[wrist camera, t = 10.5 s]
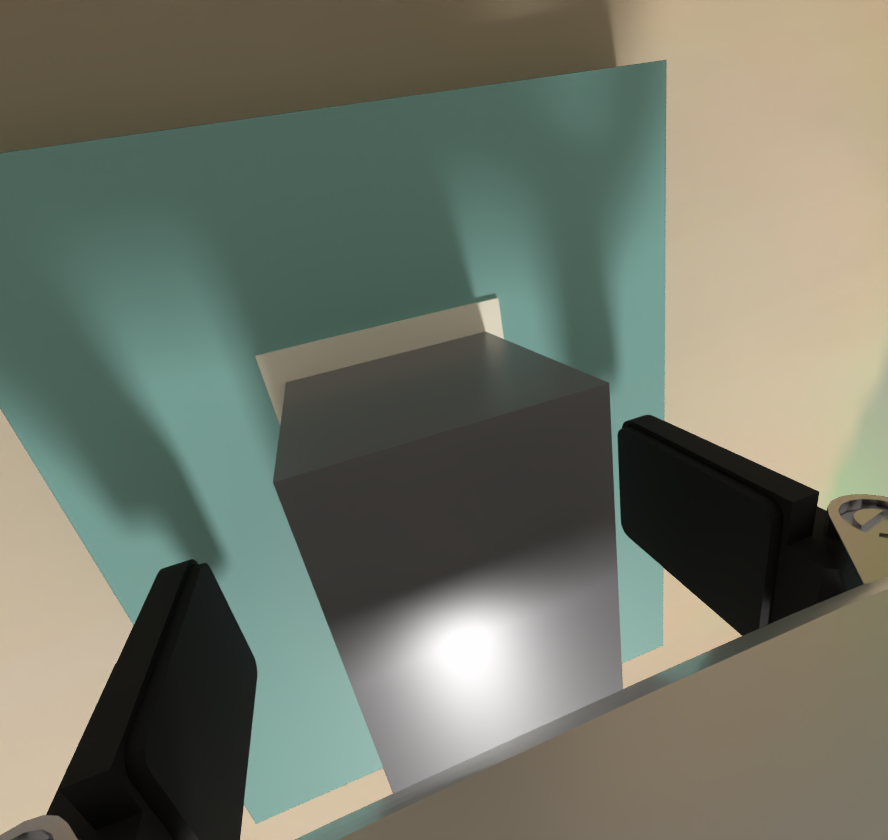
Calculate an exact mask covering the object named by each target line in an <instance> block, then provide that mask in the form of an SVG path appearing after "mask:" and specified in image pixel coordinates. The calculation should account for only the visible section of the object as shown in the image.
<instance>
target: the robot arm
mask: <svg viewBox="0 0 888 840" xmlns="http://www.w3.org/2000/svg"><path fill="white" fill-rule="evenodd" d="M617 439H618V464H619V490H620V516H621V525H622V528H623V530H624V532H625V534H626V535H627V536H628V537H629V538H630V539H631V540H632V541H633V542H635V543H636V544H637V545H638V546H639V547H640V548H641V549H643V550H644V551H645V552H646V553H647V554H648V555H650V556H651V557H652V558H653V559H654V560H655V561H657V562H658V563H659V564H660V565H661V566H662V567H663V568H665V569H666V570H667V571H668V572H669V573H670V574H672V575H673V576H674V577H675V578H676V579H677V580H678V581H680V582H681V583H682V584H683V585H684V586H685V587H687V588H688V589H689V590H690V591H691V592H692V593H694V594H695V595H696V596H697V597H698V598H699V599H700V600H702V601H703V602H704V603H705V604H706V605H707V606H709V607H710V608H711V609H712V610H713V611H714V612H716V613H717V614H718V615H719V616H720V617H721V618H722V619H724V620H725V621H726V622H727V623H728V624H729V625H731V626H732V627H733V628H734V629H735V630H736V631H737V632H739V633H740V634H741V635H742V637H739V638H737V639H735V640H733V641H730V642H728V643H726V644H723V645H721V646H719V647H717V648H714V649H712V650H710V651H708V652H705V653H703V654H701V655H699V656H696V657H694V658H692V659H690V660H687V661H685V662H683V663H681V664H678V665H676V666H674V667H672V668H669V669H667V670H665V671H663V672H660V673H658V674H656V675H654V676H652V677H649V678H647V679H645V680H643V681H640V682H638V683H636V684H634V685H632V686H629V687H627V688H625V689H623V690H620V691H618V692H616V693H614V694H612V695H609V696H607V697H605V698H603V699H600V700H598V701H596V702H594V703H592V704H589V705H587V706H585V707H583V708H581V709H578V710H576V711H574V712H572V713H569V714H567V715H565V716H563V717H561V718H558V719H556V720H554V721H552V722H550V723H547V724H545V725H543V726H541V727H539V728H536V729H534V730H532V731H530V732H527V733H525V734H523V735H521V736H519V737H516V738H514V739H512V740H510V741H508V742H505V743H503V744H501V745H499V746H497V747H494V748H492V749H490V750H488V751H486V752H483V753H481V754H479V755H477V756H475V757H473V758H470V759H468V760H466V761H464V762H462V763H459V764H457V765H455V766H453V767H451V768H449V769H446V770H444V771H442V772H440V773H438V774H435V775H433V776H431V777H429V778H427V779H425V780H422V781H420V782H418V783H416V784H414V785H411V786H409V787H407V788H405V789H403V790H401V791H398V792H396V793H394V794H392V795H390V796H387V797H385V798H383V799H381V800H379V801H377V802H374V803H372V804H370V805H368V806H366V807H363V808H361V809H359V810H357V811H355V812H353V813H350V814H348V815H346V816H344V817H342V818H339V819H337V820H335V821H333V822H331V823H329V824H327V825H325V826H323V827H320V828H318V829H316V830H314V831H312V832H310V833H308V834H306V835H304V836H302V837H300V838H297V839H295V840H888V497H884V496H876V495H867V494H859V495H858V494H855V495H847V496H841V497H838V498H836V499H834V500H832V501H831V502H830V504H829V505H828V507H827V511H826V510H823V509H821V508H819V507H817V503H818V496H819V492H818V491H816V490H814V489H812V488H810V487H807V486H805V485H803V484H801V483H799V482H797V481H794V480H792V479H790V478H788V477H786V476H783V475H781V474H779V473H777V472H775V471H772V470H770V469H768V468H766V467H764V466H762V465H759V464H757V463H755V462H753V461H751V460H748V459H746V458H744V457H742V456H740V455H737V454H735V453H733V452H731V451H729V450H727V449H724V448H722V447H720V446H718V445H716V444H713V443H711V442H709V441H707V440H705V439H702V438H700V437H698V436H696V435H694V434H692V433H689V432H687V431H685V430H683V429H681V428H678V427H676V426H674V425H672V424H670V423H667V422H665V421H663V420H661V419H659V418H657V417H654V416H652V415H644V416H640V417H637V418H634V419H631V420H628V421H625V422H624V423H623V425H622V429H620V430H619V431H618V436H617ZM256 685H257V665H256V661H255V658H254V655H253V653H252V651H251V649H250V647H249V645H248V643H247V641H246V639H245V637H244V635H243V633H242V631H241V629H240V627H239V625H238V623H237V621H236V619H235V617H234V615H233V613H232V611H231V609H230V607H229V605H228V602H227V600H226V598H225V596H224V594H223V592H222V590H221V588H220V586H219V584H218V582H217V580H216V578H215V576H214V574H213V572H212V570H211V568H210V566H209V565H208V564H207V563H202V564H198V562H197V561H196V560H194V559H190V560H187V561H184V562H181V563H178V564H175V565H172V566H168V567H165V568H162V569H160V571H159V572H158V574H157V576H156V578H155V580H154V582H153V584H152V587H151V589H150V591H149V593H148V595H147V598H146V600H145V602H144V604H143V606H142V609H141V611H140V613H139V615H138V617H137V619H136V622H135V624H134V626H133V628H132V630H131V633H130V635H129V637H128V639H127V641H126V644H125V646H124V648H123V650H122V652H121V655H120V657H119V659H118V661H117V663H116V664H115V666H114V668H113V670H112V673H111V675H110V677H109V679H108V681H107V683H106V686H105V688H104V690H103V692H102V694H101V697H100V699H99V701H98V703H97V705H96V707H95V710H94V712H93V714H92V716H91V718H90V720H89V723H88V725H87V727H86V729H85V731H84V734H83V736H82V738H81V740H80V742H79V744H78V747H77V749H76V751H75V753H74V755H73V758H72V760H71V762H70V764H69V766H68V768H67V771H66V773H65V775H64V777H63V779H62V782H61V784H60V786H59V788H58V790H57V792H56V795H55V797H54V799H53V801H52V803H51V805H50V808H49V810H48V812H47V814H46V815H43V816H40V817H37V818H34V819H31V820H27V821H24V822H23V823H21V824H19V825H17V826H16V827H14V828H12V829H10V830H9V831H7V832H5V833H3V834H2V835H0V840H240V834H241V824H242V815H243V806H244V797H245V787H246V778H247V769H248V759H249V750H250V741H251V732H252V722H253V713H254V704H255V694H256Z"/></svg>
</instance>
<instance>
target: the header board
mask: <svg viewBox="0 0 888 840" xmlns="http://www.w3.org/2000/svg"><path fill="white" fill-rule="evenodd" d="M665 212H666V60H662V61H655V62H648V63H641V64H634V65H627V66H619V67H612V68H605V69H598V70H591V71H584V72H577V73H569V74H562V75H555V76H548V77H541V78H534V79H527V80H519V81H512V82H505V83H498V84H491V85H484V86H477V87H469V88H462V89H455V90H448V91H441V92H434V93H427V94H419V95H412V96H405V97H398V98H391V99H384V100H377V101H369V102H362V103H355V104H348V105H341V106H334V107H327V108H319V109H312V110H305V111H298V112H291V113H284V114H277V115H269V116H262V117H255V118H248V119H241V120H234V121H227V122H219V123H212V124H205V125H198V126H191V127H184V128H177V129H169V130H162V131H155V132H148V133H141V134H134V135H127V136H119V137H112V138H105V139H98V140H91V141H84V142H77V143H69V144H62V145H55V146H48V147H41V148H34V149H27V150H19V151H12V152H5V153H0V409H1V410H2V412H3V414H4V415H5V417H6V419H7V420H8V422H9V423H10V425H11V427H12V428H13V430H14V432H15V433H16V435H17V436H18V438H19V440H20V441H21V443H22V445H23V446H24V448H25V449H26V451H27V453H28V454H29V456H30V458H31V459H32V461H33V462H34V464H35V466H36V467H37V469H38V471H39V472H40V474H41V475H42V477H43V479H44V480H45V482H46V484H47V485H48V487H49V488H50V490H51V492H52V493H53V495H54V497H55V498H56V500H57V501H58V503H59V505H60V506H61V508H62V510H63V511H64V513H65V514H66V516H67V518H68V519H69V521H70V523H71V524H72V526H73V527H74V529H75V531H76V532H77V534H78V536H79V537H80V539H81V540H82V542H83V544H84V545H85V547H86V549H87V550H88V552H89V553H90V555H91V557H92V558H93V560H94V562H95V563H96V565H97V566H98V568H99V570H100V571H101V573H102V575H103V576H104V578H105V579H106V581H107V583H108V584H109V586H110V588H111V589H112V591H113V592H114V594H115V596H116V597H117V599H118V601H119V602H120V604H121V605H122V607H123V609H124V610H125V612H126V614H127V615H128V617H129V618H130V620H131V622H132V623H133V625H134V624H135V622H136V619H137V617H138V615H139V613H140V611H141V609H142V606H143V604H144V602H145V600H146V598H147V595H148V593H149V591H150V589H151V587H152V584H153V582H154V580H155V578H156V576H157V574H158V572H159V571H160V569H162V568H165V567H168V566H172V565H175V564H178V563H181V562H184V561H187V560H190V559H194V560H196V561H197V562H198V564H202V563H207V564H208V565H209V566H210V568H211V570H212V572H213V574H214V576H215V578H216V580H217V582H218V584H219V586H220V588H221V590H222V592H223V594H224V596H225V598H226V600H227V602H228V605H229V607H230V609H231V611H232V613H233V615H234V617H235V619H236V621H237V623H238V625H239V627H240V629H241V631H242V633H243V635H244V637H245V639H246V641H247V643H248V645H249V647H250V649H251V651H252V653H253V655H254V658H255V661H256V665H257V685H256V694H255V704H254V713H253V722H252V732H251V741H250V750H249V759H248V769H247V778H246V787H245V797H244V805H245V807H246V809H247V810H248V812H249V813H250V815H251V817H252V818H253V820H254V822H255V823H256V824H257V823H259V822H261V821H263V820H266V819H268V818H270V817H273V816H275V815H277V814H279V813H282V812H284V811H286V810H289V809H291V808H293V807H295V806H298V805H300V804H302V803H305V802H307V801H309V800H311V799H314V798H316V797H318V796H321V795H323V794H325V793H327V792H330V791H332V790H334V789H336V788H339V787H341V786H343V785H346V784H348V783H350V782H352V781H355V780H357V779H359V778H362V777H364V776H366V775H368V774H371V773H373V772H375V771H378V770H380V769H382V768H383V766H382V763H381V761H380V758H379V756H378V753H377V750H376V748H375V745H374V743H373V740H372V738H371V735H370V732H369V730H368V727H367V725H366V722H365V719H364V717H363V714H362V712H361V709H360V707H359V704H358V701H357V699H356V696H355V694H354V691H353V688H352V686H351V683H350V681H349V678H348V675H347V673H346V670H345V668H344V665H343V663H342V660H341V657H340V655H339V652H338V650H337V647H336V644H335V642H334V639H333V637H332V634H331V632H330V629H329V626H328V624H327V621H326V619H325V616H324V613H323V611H322V608H321V606H320V603H319V601H318V598H317V595H316V593H315V590H314V588H313V585H312V582H311V580H310V577H309V575H308V572H307V570H306V567H305V564H304V562H303V559H302V557H301V554H300V551H299V549H298V546H297V544H296V541H295V538H294V536H293V533H292V531H291V528H290V526H289V523H288V520H287V518H286V515H285V513H284V510H283V507H282V505H281V502H280V500H279V497H278V495H277V492H276V489H275V487H274V484H273V477H274V470H275V462H276V454H277V447H278V439H279V432H280V424H281V416H282V409H283V401H284V394H285V386H286V382H289V381H293V380H297V379H301V378H305V377H309V376H313V375H317V374H321V373H325V372H329V371H333V370H337V369H340V368H344V367H348V366H352V365H356V364H360V363H364V362H368V361H372V360H376V359H380V358H384V357H388V356H391V355H395V354H399V353H403V352H407V351H411V350H415V349H419V348H423V347H427V346H431V345H435V344H439V343H442V342H446V341H450V340H454V339H458V338H462V337H466V336H470V335H474V334H478V333H482V332H488V333H490V334H493V335H495V336H498V337H500V338H502V339H505V340H507V341H510V342H512V343H515V344H517V345H519V346H522V347H524V348H527V349H529V350H531V351H534V352H536V353H539V354H541V355H543V356H546V357H548V358H551V359H553V360H555V361H558V362H560V363H563V364H565V365H568V366H570V367H572V368H575V369H577V370H580V371H582V372H584V373H587V374H589V375H592V376H594V377H596V378H599V379H601V380H604V381H606V382H609V388H610V410H611V433H612V455H613V478H614V501H615V523H616V546H617V568H618V591H619V614H620V636H621V659H622V663H624V662H626V661H629V660H631V659H633V658H635V657H638V656H640V655H642V654H645V653H647V652H649V651H651V650H654V649H656V648H658V647H661V646H663V567H662V566H661V565H660V564H659V563H658V562H657V561H655V560H654V559H653V558H652V557H651V556H650V555H648V554H647V553H646V552H645V551H644V550H643V549H641V548H640V547H639V546H638V545H637V544H636V543H635V542H633V541H632V540H631V539H630V538H629V537H628V536H627V535H626V534H625V532H624V530H623V528H622V525H621V516H620V490H619V464H618V439H617V436H618V431H619V430H620V429H622V425H623V423H624V422H625V421H628V420H631V419H634V418H637V417H640V416H644V415H652V416H654V417H657V418H659V419H661V420H663V421H664V379H665Z"/></svg>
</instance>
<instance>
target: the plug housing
mask: <svg viewBox="0 0 888 840" xmlns="http://www.w3.org/2000/svg"><path fill="white" fill-rule="evenodd" d="M273 484H274V487H275V489H276V492H277V495H278V497H279V500H280V502H281V505H282V507H283V510H284V513H285V515H286V518H287V520H288V523H289V526H290V528H291V531H292V533H293V536H294V538H295V541H296V544H297V546H298V549H299V551H300V554H301V557H302V559H303V562H304V564H305V567H306V570H307V572H308V575H309V577H310V580H311V582H312V585H313V588H314V590H315V593H316V595H317V598H318V601H319V603H320V606H321V608H322V611H323V613H324V616H325V619H326V621H327V624H328V626H329V629H330V632H331V634H332V637H333V639H334V642H335V644H336V647H337V650H338V652H339V655H340V657H341V660H342V663H343V665H344V668H345V670H346V673H347V675H348V678H349V681H350V683H351V686H352V688H353V691H354V694H355V696H356V699H357V701H358V704H359V707H360V709H361V712H362V714H363V717H364V719H365V722H366V725H367V727H368V730H369V732H370V735H371V738H372V740H373V743H374V745H375V748H376V750H377V753H378V756H379V758H380V761H381V763H382V766H383V769H384V771H385V774H386V776H387V779H388V781H389V784H390V787H391V789H392V792H393V794H394V793H396V792H398V791H401V790H403V789H405V788H407V787H409V786H411V785H414V784H416V783H418V782H420V781H422V780H425V779H427V778H429V777H431V776H433V775H435V774H438V773H440V772H442V771H444V770H446V769H449V768H451V767H453V766H455V765H457V764H459V763H462V762H464V761H466V760H468V759H470V758H473V757H475V756H477V755H479V754H481V753H483V752H486V751H488V750H490V749H492V748H494V747H497V746H499V745H501V744H503V743H505V742H508V741H510V740H512V739H514V738H516V737H519V736H521V735H523V734H525V733H527V732H530V731H532V730H534V729H536V728H539V727H541V726H543V725H545V724H547V723H550V722H552V721H554V720H556V719H558V718H561V717H563V716H565V715H567V714H569V713H572V712H574V711H576V710H578V709H581V708H583V707H585V706H587V705H589V704H592V703H594V702H596V701H598V700H600V699H603V698H605V697H607V696H609V695H612V694H614V693H616V692H618V691H620V690H623V682H622V659H621V636H620V614H619V591H618V568H617V546H616V523H615V501H614V478H613V455H612V433H611V410H610V388H609V382H606V381H604V380H601V379H599V378H596V377H594V376H592V375H589V374H587V373H584V372H582V371H580V370H577V369H575V368H572V367H570V366H568V365H565V364H563V363H560V362H558V361H555V360H553V359H551V358H548V357H546V356H543V355H541V354H539V353H536V352H534V351H531V350H529V349H527V348H524V347H522V346H519V345H517V344H515V343H512V342H510V341H507V340H505V339H502V338H500V337H498V336H495V335H493V334H490V333H488V332H482V333H478V334H474V335H470V336H466V337H462V338H458V339H454V340H450V341H446V342H442V343H439V344H435V345H431V346H427V347H423V348H419V349H415V350H411V351H407V352H403V353H399V354H395V355H391V356H388V357H384V358H380V359H376V360H372V361H368V362H364V363H360V364H356V365H352V366H348V367H344V368H340V369H337V370H333V371H329V372H325V373H321V374H317V375H313V376H309V377H305V378H301V379H297V380H293V381H289V382H286V386H285V394H284V401H283V409H282V416H281V424H280V432H279V439H278V447H277V454H276V462H275V470H274V477H273Z"/></svg>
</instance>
